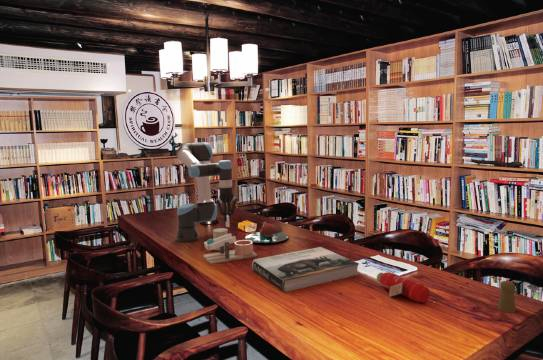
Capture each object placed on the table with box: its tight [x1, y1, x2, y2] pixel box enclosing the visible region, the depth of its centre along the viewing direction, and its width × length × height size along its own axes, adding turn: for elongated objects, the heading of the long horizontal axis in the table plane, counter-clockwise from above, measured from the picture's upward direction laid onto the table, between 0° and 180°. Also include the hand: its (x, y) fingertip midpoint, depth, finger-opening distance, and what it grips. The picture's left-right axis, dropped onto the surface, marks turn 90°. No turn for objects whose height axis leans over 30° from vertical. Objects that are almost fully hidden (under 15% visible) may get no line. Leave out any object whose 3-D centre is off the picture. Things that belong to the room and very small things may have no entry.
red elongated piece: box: [376, 271, 430, 304], centre depth 170 cm, size 12×8×25 cm
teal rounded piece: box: [244, 221, 289, 244], centre depth 262 cm, size 28×28×11 cm
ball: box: [206, 238, 214, 245], centre depth 222 cm, size 4×4×4 cm
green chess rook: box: [497, 280, 517, 314], centre depth 154 cm, size 6×6×11 cm
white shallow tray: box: [203, 233, 237, 252], centre depth 227 cm, size 15×16×3 cm
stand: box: [202, 242, 258, 265], centre depth 228 cm, size 15×28×10 cm, turn 114°
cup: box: [233, 239, 254, 255], centre depth 231 cm, size 10×10×6 cm
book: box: [251, 246, 360, 293], centre depth 199 cm, size 43×33×6 cm
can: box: [212, 227, 229, 251], centre depth 244 cm, size 9×9×12 cm
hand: (227, 226), depth 234 cm, fingers closed
